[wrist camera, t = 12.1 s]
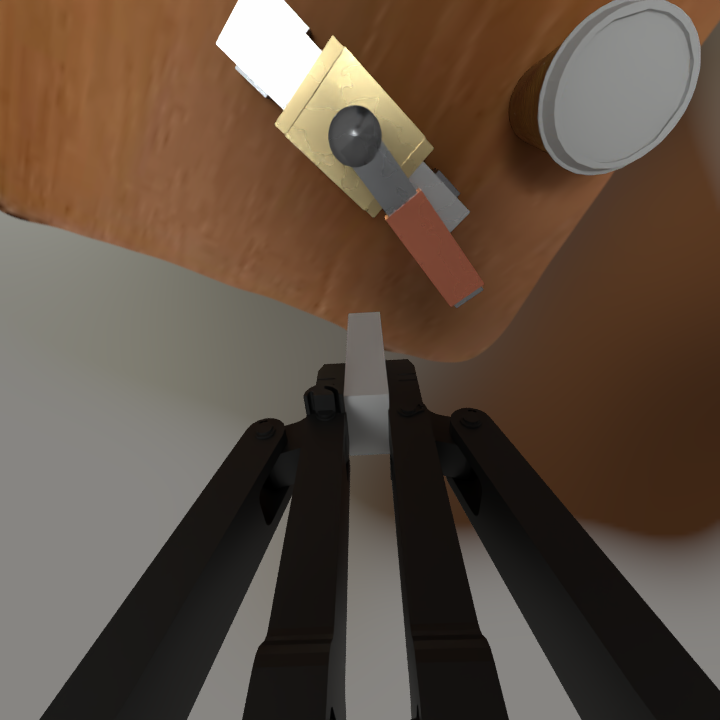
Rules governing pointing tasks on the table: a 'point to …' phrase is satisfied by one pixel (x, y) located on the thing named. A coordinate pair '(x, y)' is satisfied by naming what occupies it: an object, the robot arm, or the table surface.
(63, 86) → the table surface
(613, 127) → the disposable coffee cup
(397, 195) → the lever
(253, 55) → the bar with tan sleeve
